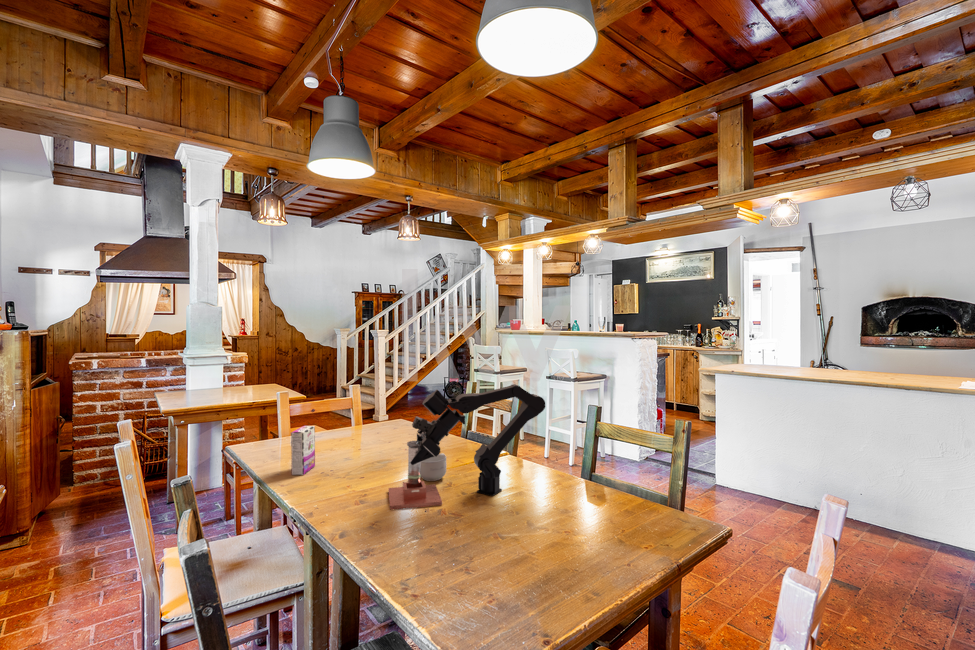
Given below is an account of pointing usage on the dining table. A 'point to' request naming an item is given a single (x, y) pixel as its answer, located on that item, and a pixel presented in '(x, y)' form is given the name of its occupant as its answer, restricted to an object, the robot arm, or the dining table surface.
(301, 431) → the candy bar box
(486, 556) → the dining table surface
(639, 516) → the dining table surface
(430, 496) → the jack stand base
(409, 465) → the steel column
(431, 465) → the teacup
